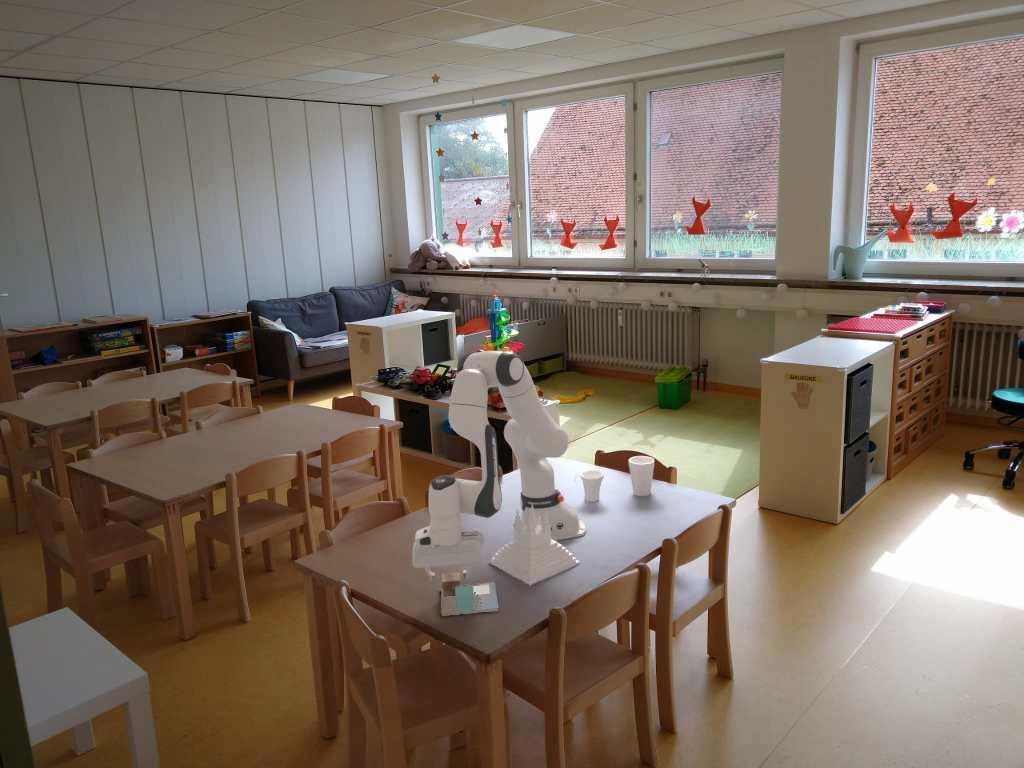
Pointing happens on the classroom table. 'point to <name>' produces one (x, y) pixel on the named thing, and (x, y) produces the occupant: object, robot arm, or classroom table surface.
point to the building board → (487, 596)
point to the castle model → (533, 551)
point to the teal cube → (465, 598)
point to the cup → (592, 484)
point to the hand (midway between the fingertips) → (449, 578)
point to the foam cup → (641, 474)
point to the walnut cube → (450, 583)
